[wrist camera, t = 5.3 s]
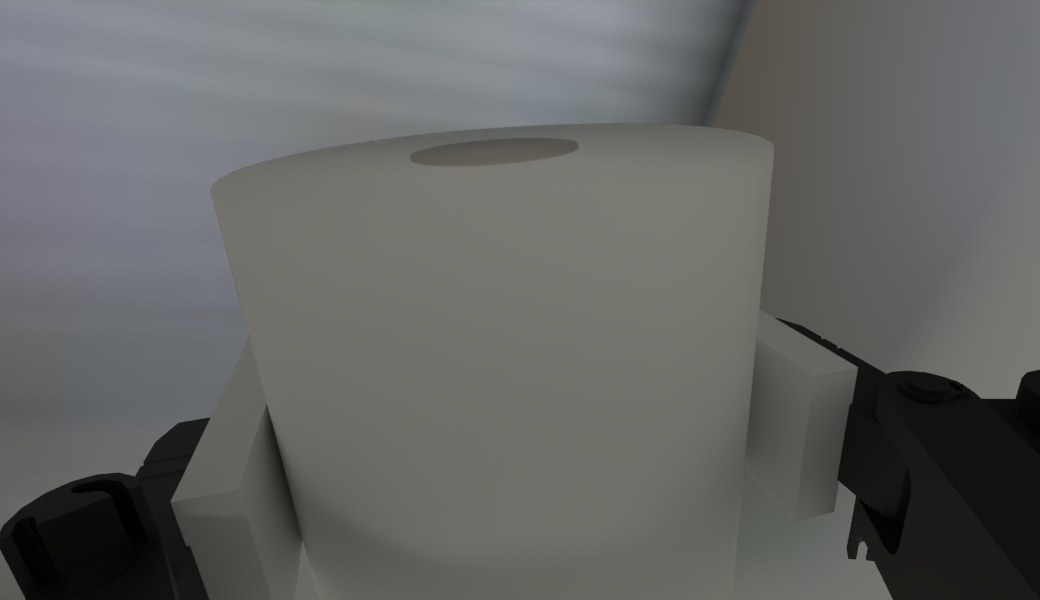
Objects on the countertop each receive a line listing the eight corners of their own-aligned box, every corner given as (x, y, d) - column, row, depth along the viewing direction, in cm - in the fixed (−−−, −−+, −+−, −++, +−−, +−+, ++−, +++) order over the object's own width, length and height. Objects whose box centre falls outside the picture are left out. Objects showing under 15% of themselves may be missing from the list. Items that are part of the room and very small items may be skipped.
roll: (266, 145, 12) (93, 252, 5) (631, 113, 13) (938, 154, 6) (345, 500, 15) (317, 886, 8) (629, 442, 17) (825, 722, 9)
